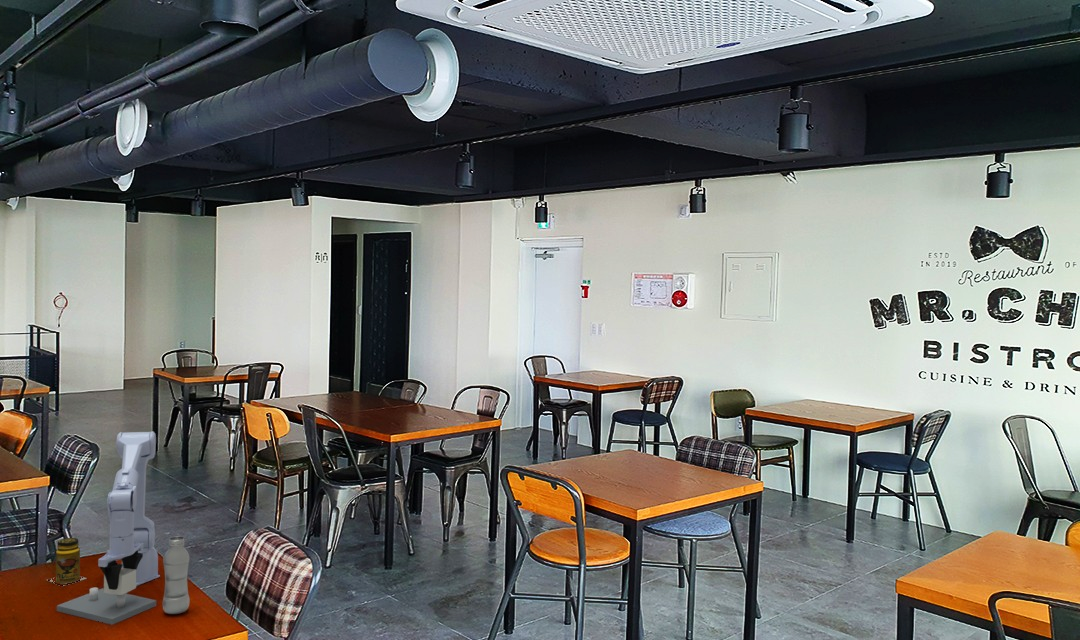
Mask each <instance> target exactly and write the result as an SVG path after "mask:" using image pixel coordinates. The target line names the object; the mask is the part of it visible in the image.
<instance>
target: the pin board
mask: <svg viewBox="0 0 1080 640" xmlns="http://www.w3.org/2000/svg"><path fill="white" fill-rule="evenodd" d="M154 607H157V599H151V598H148V597H144V596H138V595H134V594H130V593H125V594H123V595H116V594H108V593H104V587H103V588H99V587H91V588H89V593H86V594H84V595H81V596H79V597H76V598H72V599H70V600H69V601H65V602H63V603H60V604H57V605H56V612H59V613H63V614H68V615H71V616H75V617H79V618H83V619H86V620H90V621H91V620H92V621H96V622H98V621H99V623H102V622H103V624H106V625H111V626H113V625H115V624H117V623H120V622H123V621H125V620H127V619H130V618H131V617H134V616H136V615H138V614H140V613H143V612H145V611H148V610H150V609H153V608H154Z"/></svg>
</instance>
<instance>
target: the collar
mask: <svg viewBox="0 0 1080 640" xmlns="http://www.w3.org/2000/svg"><path fill="white" fill-rule="evenodd" d="M103 588H104V593H108V594H116V595H123V594H125V593H126V594H128V593H129V592H131V591H133V590H135V589H136V588H137V586H136V570H135V569H127V568H121V571H120V574H119V583H118V588H117V589H116V590H112V589H109V587H108V584H107V580H106V577H105V575H104V574H103Z"/></svg>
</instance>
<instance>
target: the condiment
mask: <svg viewBox="0 0 1080 640" xmlns="http://www.w3.org/2000/svg"><path fill="white" fill-rule="evenodd" d="M79 546H80V545H79V539H78V538H76V537H66V538H62V539H60V540H58V541H57V550H56V552H55V577H56V582H57V583H60V584H67V583H72V582H75V583H77V582H76V581H78V580H79V579H80V577H81V579H80V581H78V582H81V581H84V580H87V577H84V576H81V549H80V547H79ZM55 577H52V578H53V579H54V578H55ZM82 577H83V578H82ZM52 578H50V579H51V580H50V581H48V579H46V581H48V582H50V583H52V582H53V580H52ZM54 582H55V581H54ZM54 582H53V583H52V584H55V583H54ZM72 584H73V583H72ZM64 586H65V585H63V586H62V587H64Z"/></svg>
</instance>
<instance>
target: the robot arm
mask: <svg viewBox="0 0 1080 640" xmlns="http://www.w3.org/2000/svg"><path fill="white" fill-rule="evenodd" d="M156 436H157V435H156V433H155V431H153V430H152V431H134V432H133V431H132V432H123V431H120V432H119V433H118V434H117V436H116V443H115V446H116V449H115V450H116V452H117V454H118V456H119V457H120V459H121V460H122V464H121V469H119V470H118V471H116V474H115V478H114V482H113V485H112V490H111V491H109V492H108V495H107V500H106V502H107V503H106V506H107V513H108V515H107V516H108V517H107V518H108V519H109V549H106V553H105V555H103V556H102V557H100V558H98V561H97V563H98V565H97V567H99V569H100V570H101V572H102V573H103V576H104V575H105V577H106V580H107V584H108V587H109V589H112V590H116V589H117V588H118V583H119V574H120V571H121V568H127V569H135V570H136V587H138V586H140V585H143V584H144V583H147V582H150V581H153V580H154V579H155V580H156V579H158V578H159V577H161V575H160V574H159V554H158V551H157V549H156V548H155V543H156V531H155V530H156V529H155V528H156V527H155V522H154V521H153V520H152V519H151V518H148V516H146V513H145V512H146V487H147V486H146V485H147V466H148V463H149V460H153V459H154V458H155V456H156V444H157V437H156ZM119 560H121V563H118V562H117V561H119Z"/></svg>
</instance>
